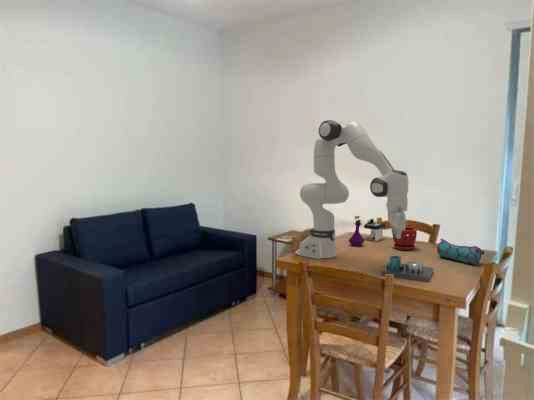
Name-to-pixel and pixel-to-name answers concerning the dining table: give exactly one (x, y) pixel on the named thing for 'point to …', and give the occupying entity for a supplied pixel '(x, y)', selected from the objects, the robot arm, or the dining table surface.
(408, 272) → the carrier plate
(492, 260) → the dining table surface
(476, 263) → the pencil case
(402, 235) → the plant pot
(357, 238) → the perfume bottle
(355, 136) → the robot arm
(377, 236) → the black-topped pedestal
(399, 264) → the planet gear
